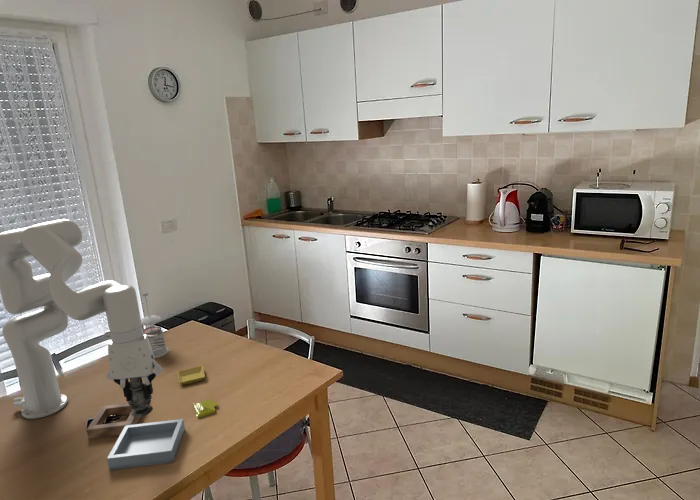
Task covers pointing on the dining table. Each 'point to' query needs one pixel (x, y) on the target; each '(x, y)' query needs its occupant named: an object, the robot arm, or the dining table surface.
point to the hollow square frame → (112, 429)
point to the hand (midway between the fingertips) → (139, 396)
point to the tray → (146, 444)
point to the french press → (158, 340)
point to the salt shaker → (139, 398)
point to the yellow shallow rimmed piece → (191, 375)
